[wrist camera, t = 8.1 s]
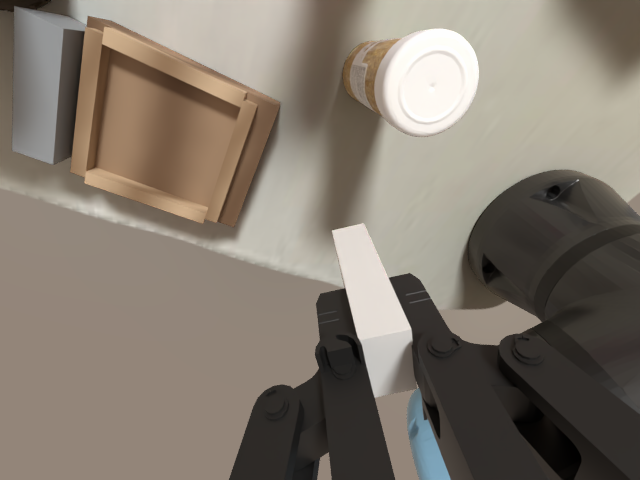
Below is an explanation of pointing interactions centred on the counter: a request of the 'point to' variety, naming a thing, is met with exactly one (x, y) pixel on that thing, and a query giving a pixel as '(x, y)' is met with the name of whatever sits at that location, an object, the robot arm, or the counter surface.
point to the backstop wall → (45, 83)
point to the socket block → (165, 127)
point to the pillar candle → (21, 4)
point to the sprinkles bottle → (415, 79)
